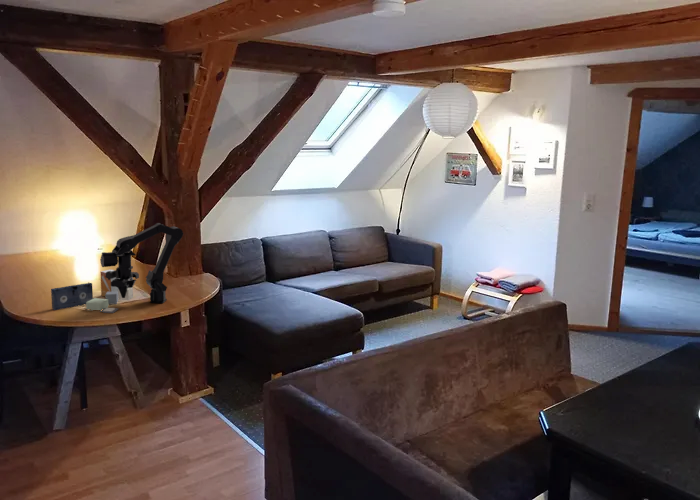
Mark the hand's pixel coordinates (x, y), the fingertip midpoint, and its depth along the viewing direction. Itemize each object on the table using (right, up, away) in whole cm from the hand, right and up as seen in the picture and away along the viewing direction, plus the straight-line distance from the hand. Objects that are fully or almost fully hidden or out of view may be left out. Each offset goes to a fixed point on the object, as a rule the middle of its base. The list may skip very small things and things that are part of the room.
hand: (125, 296), depth 265 cm
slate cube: (-9, -4, +6) cm, 11 cm away
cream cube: (0, -1, 0) cm, 1 cm away
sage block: (-12, -6, -4) cm, 14 cm away
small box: (-14, -1, +16) cm, 21 cm away
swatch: (-5, -6, -7) cm, 11 cm away
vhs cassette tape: (-24, -5, -3) cm, 25 cm away
